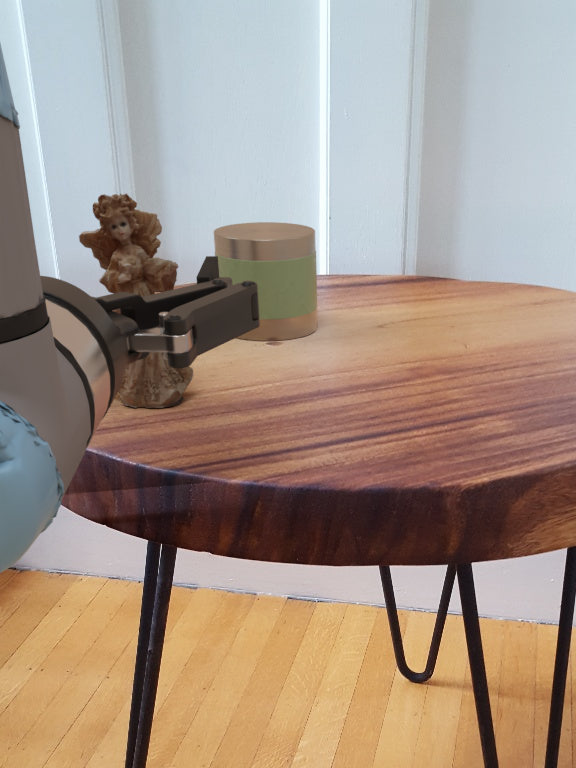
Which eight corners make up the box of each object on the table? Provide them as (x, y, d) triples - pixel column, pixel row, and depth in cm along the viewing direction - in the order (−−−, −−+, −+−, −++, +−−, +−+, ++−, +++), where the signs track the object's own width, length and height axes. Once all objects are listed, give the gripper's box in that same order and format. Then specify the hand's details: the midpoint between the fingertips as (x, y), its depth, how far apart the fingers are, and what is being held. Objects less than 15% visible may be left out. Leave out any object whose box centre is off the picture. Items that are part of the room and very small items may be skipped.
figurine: (102, 413, 74) (69, 200, 66) (102, 390, 79) (71, 188, 70) (198, 407, 75) (178, 197, 67) (192, 384, 80) (173, 185, 72)
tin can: (209, 338, 92) (201, 238, 87) (233, 314, 100) (227, 220, 95) (308, 343, 91) (305, 241, 86) (324, 317, 99) (323, 223, 94)
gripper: (-212, 452, 47) (-69, 338, 64) (298, 445, 48) (301, 335, 66) (-267, 292, 43) (-98, 217, 60) (292, 289, 44) (297, 216, 62)
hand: (110, 278), depth 63 cm, fingers open, 13 cm apart
